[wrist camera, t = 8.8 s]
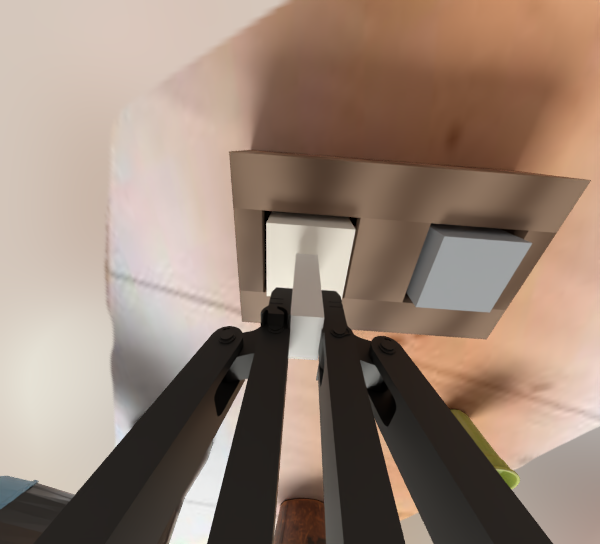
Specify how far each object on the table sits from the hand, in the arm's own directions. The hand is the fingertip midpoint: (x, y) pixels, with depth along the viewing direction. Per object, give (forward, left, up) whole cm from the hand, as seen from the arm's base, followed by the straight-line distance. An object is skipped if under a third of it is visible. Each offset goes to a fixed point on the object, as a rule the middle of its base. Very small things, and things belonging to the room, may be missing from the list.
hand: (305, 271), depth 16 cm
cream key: (0, 0, -5) cm, 5 cm away
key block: (+6, 0, -8) cm, 10 cm away
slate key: (+12, 0, -5) cm, 13 cm away
